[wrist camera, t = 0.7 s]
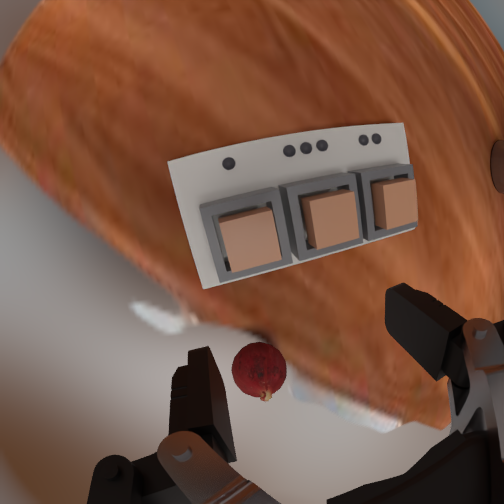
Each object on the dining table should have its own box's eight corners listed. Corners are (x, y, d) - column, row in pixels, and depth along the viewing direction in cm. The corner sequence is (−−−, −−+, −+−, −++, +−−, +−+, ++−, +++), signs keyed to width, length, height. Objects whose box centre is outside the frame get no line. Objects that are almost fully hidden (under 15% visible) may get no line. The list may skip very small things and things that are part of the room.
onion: (224, 333, 30) (232, 382, 23) (275, 324, 31) (296, 370, 23) (232, 371, 32) (241, 420, 24) (278, 362, 33) (296, 408, 25)
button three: (342, 188, 23) (354, 191, 21) (348, 232, 24) (359, 237, 23) (300, 198, 23) (309, 201, 21) (308, 243, 24) (317, 249, 22)
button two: (402, 177, 24) (415, 179, 22) (405, 216, 25) (418, 220, 23) (370, 183, 23) (382, 185, 21) (375, 225, 25) (386, 229, 23)
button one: (266, 206, 22) (271, 210, 21) (275, 251, 24) (281, 259, 22) (217, 218, 22) (219, 223, 20) (229, 264, 23) (232, 273, 22)
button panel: (392, 124, 26) (418, 121, 22) (404, 224, 30) (428, 234, 26) (170, 162, 24) (162, 161, 20) (203, 280, 28) (203, 301, 24)
